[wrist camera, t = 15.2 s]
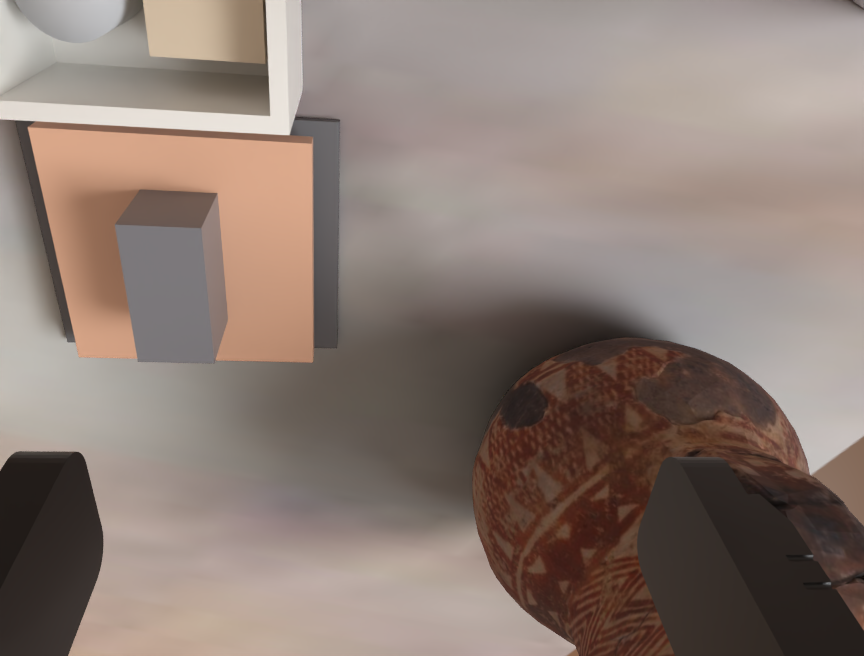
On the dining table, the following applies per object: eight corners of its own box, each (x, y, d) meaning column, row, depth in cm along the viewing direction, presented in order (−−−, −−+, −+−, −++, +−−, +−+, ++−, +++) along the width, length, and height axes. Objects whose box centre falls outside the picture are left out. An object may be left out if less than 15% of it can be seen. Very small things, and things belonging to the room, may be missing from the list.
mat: (339, 119, 39) (339, 122, 38) (337, 344, 47) (336, 348, 46) (15, 100, 37) (11, 103, 36) (70, 337, 45) (67, 342, 44)
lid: (314, 129, 38) (305, 174, 33) (315, 341, 46) (308, 407, 40) (46, 113, 37) (-14, 157, 31) (92, 335, 44) (51, 403, 39)
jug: (748, 476, 57) (971, 824, 36) (502, 546, 59) (578, 911, 38) (726, 246, 45) (1039, 564, 24) (419, 343, 47) (463, 712, 26)
